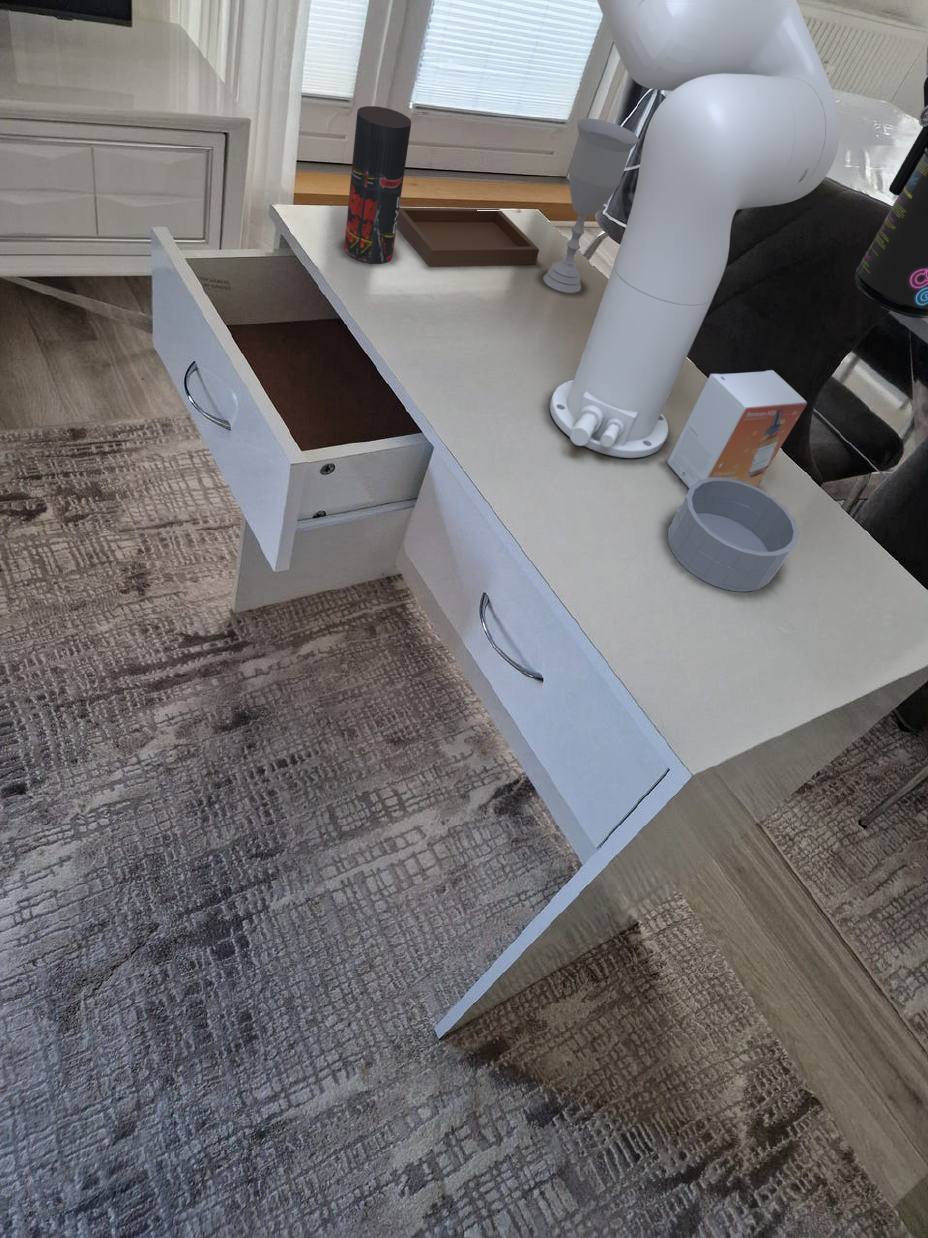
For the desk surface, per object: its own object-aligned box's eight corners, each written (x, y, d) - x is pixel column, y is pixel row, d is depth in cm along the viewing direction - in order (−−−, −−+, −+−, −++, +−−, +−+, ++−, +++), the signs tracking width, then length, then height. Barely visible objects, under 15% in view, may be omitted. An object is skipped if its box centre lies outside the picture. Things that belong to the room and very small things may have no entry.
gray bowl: (765, 608, 71) (791, 572, 67) (656, 561, 72) (676, 523, 68) (779, 542, 77) (803, 506, 74) (679, 499, 79) (699, 462, 75)
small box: (695, 499, 79) (744, 407, 72) (665, 463, 82) (709, 371, 75) (757, 490, 82) (810, 402, 75) (725, 456, 86) (773, 367, 78)
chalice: (529, 283, 103) (571, 128, 90) (541, 263, 108) (583, 113, 95) (584, 302, 103) (634, 149, 90) (593, 281, 107) (642, 132, 94)
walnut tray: (429, 266, 100) (432, 250, 99) (393, 223, 107) (395, 206, 105) (535, 264, 107) (539, 249, 106) (495, 223, 113) (499, 208, 112)
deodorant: (343, 237, 101) (356, 102, 90) (391, 244, 102) (409, 112, 91) (344, 259, 97) (357, 121, 86) (393, 266, 98) (413, 131, 88)
